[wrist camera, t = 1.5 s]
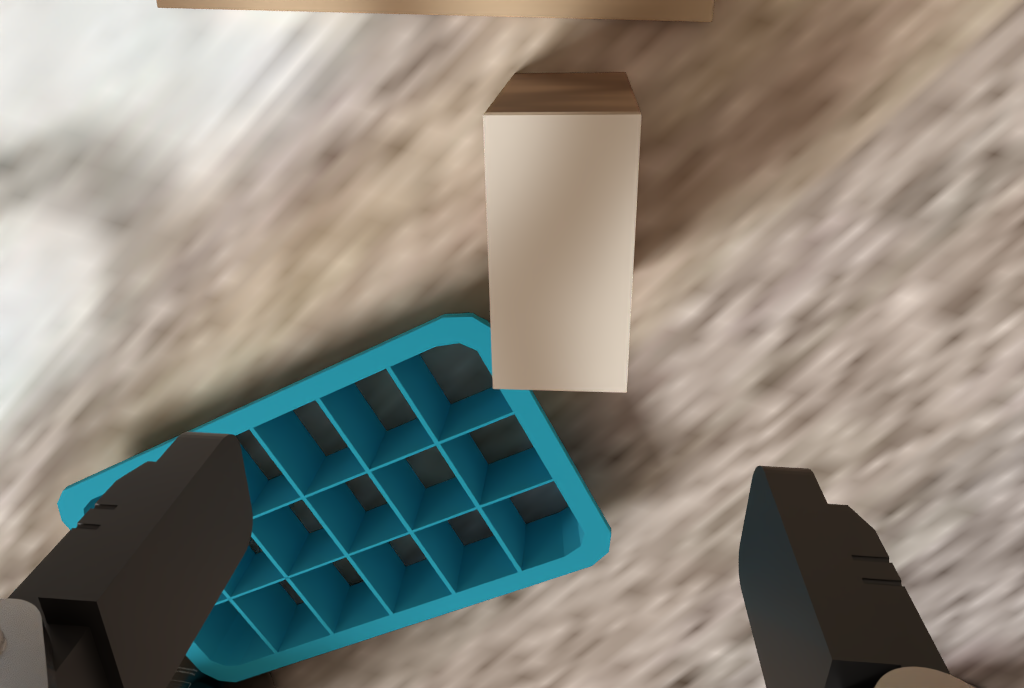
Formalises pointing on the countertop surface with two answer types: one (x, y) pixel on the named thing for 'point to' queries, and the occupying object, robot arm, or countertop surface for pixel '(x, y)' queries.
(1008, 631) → the countertop surface
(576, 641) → the countertop surface
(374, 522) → the ice cube tray
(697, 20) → the wooden board
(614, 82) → the brown wooden block
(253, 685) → the supplement bottle
